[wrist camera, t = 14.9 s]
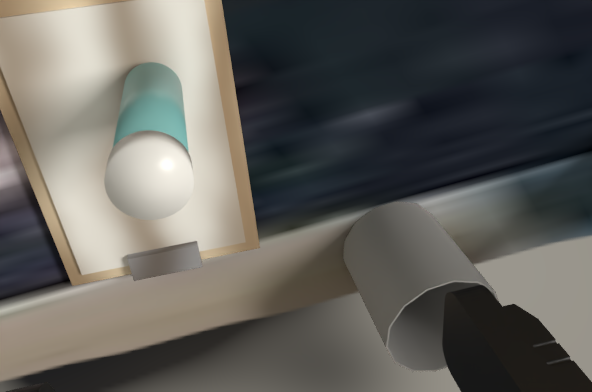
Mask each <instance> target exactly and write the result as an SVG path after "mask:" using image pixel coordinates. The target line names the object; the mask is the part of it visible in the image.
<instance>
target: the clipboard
mask: <svg viewBox="0 0 592 392" xmlns="http://www.w3.org/2000/svg"><path fill="white" fill-rule="evenodd" d="M148 62H155V63H160V64H163V65H165V66H167V67H169V68H170V69H172V70H173V71H174V72H175V73H176V75H177V76H178V78H179V79H180V82H181V85H182V92H183V102H184V112H185V122H186V132H187V142H188V151H189V155H190V157H191V161H192V168H193V177H194V188H193V192H192V195H191V197H190V199H189V201H188V202H187V204H186V205H185V206H184V207H183V208H182V209H181V210H179V211H178V212H176V213H175V214H173V215H171V216H169V217H166V218H162V219H157V220H142V219H137V218H134V217H131V216H129V215H127V214H125V213H123V212H121V211H120V210H119V209H117V208H116V207H115V206H114V205H113V203H112V202H111V201H110V199H109V197H108V195H107V193H106V190H105V184H104V179H105V172H106V167H107V162H108V157H109V155H110V152H111V150H112V148H113V143H114V137H115V132H116V127H117V121H118V116H119V110H120V105H121V99H122V94H123V88H124V83H125V80H126V77H127V75H128V74H129V72H130V71H131V70H132V69H133V68H135V67H136V66H138V65H140V64H143V63H148ZM0 110H1V112H2V115H3V117H4V120H5V122H6V125H7V127H8V130H9V132H10V134H11V137H12V139H13V142H14V144H15V147H16V149H17V152H18V154H19V156H20V159H21V161H22V164H23V166H24V169H25V171H26V174H27V176H28V178H29V181H30V183H31V186H32V188H33V191H34V193H35V195H36V198H37V200H38V203H39V205H40V208H41V210H42V213H43V215H44V217H45V220H46V222H47V225H48V227H49V230H50V232H51V235H52V237H53V239H54V242H55V244H56V247H57V249H58V252H59V254H60V256H61V259H62V261H63V264H64V266H65V269H66V271H67V274H68V276H69V278H70V281H71V283H72V286H74V285H79V284H84V283H89V282H94V281H99V280H104V279H109V278H114V277H119V276H124V275H129V274H132V276H133V279H134V281H136V280H141V279H146V278H151V277H156V276H161V275H165V274H170V273H175V272H180V271H185V270H190V269H195V268H200V267H202V261H201V260H202V259H207V258H212V257H217V256H222V255H227V254H232V253H237V252H242V251H247V250H252V249H257V248H260V246H259V239H258V233H257V227H256V220H255V214H254V207H253V201H252V194H251V188H250V181H249V175H248V169H247V162H246V156H245V149H244V143H243V136H242V130H241V123H240V117H239V111H238V104H237V98H236V91H235V85H234V78H233V72H232V66H231V59H230V53H229V46H228V40H227V33H226V27H225V20H224V14H223V8H222V1H221V0H0Z"/></svg>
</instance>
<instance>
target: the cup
mask: <svg viewBox="0 0 592 392" xmlns="http://www.w3.org/2000/svg"><path fill="white" fill-rule="evenodd" d="M343 260H344V262H345V264H346V266H347V268H348V270H349V272H350V274H351V276H352V278H353V280H354V282H355V284H356V287H357V289H358V291H359V293H360V295H361V297H362V299H363V301H364V303H365V305H366V307H367V309H368V311H369V313H370V315H371V318H372V320H373V322H374V324H375V326H376V328H377V330H378V332H379V334H380V336H381V338H382V340H383V342H384V344H385V347H386V348H387V350H388V352H389V354H390V356H391V357H392V359H393V361H394V363H395V364H398V365H400V366H402V367H404V368H406V369H408V370H411V371H437V370H440V369H443V368H446V367H448V366H447V364H446V361H445V357H444V353H443V347H442V338H443V320H444V302H445V295H446V293H448V292H451V291H456V290H460V289H465V288H469V287H473V286H478V285H484V286H485V287H487V288H488V289H489V290H490V292H491V293H492V294H493V295H494V297H495V298H496V299H497V301H498V298H497V295H496V292H495V291H494V290H493V288H492V287H491V286H490V285H489V284H488V282H487V281H486V280H485V279H484V277H483V276H482V275H481V274H480V272H479V271H478V270H477V269H476V268H475V266H474V265H473V264H472V263H471V261H470V260H469V259H468V258H467V257H466V255H465V254H464V253H463V252H462V250H461V249H460V248H459V247H458V246H457V244H456V243H455V242H454V241H453V239H452V238H451V237H450V236H449V235H448V233H447V232H446V231H445V230H444V228H443V227H442V226H441V225H440V224H439V222H438V221H437V220H436V219H435V217H434V216H433V215H432V214H431V213H430V212H428V211H427V210H425V209H424V208H423V207H421V206H420V205H418V204H417V203H407V202H397V201H396V202H393V203H389V204H386V205H383V206H380V207H376V208H374V209H372V210H371V211H370V212H368V213H367V214H366V215H365V216H363V217H362V218H361V219H359V220H358V221H357V222H355V224H354V226H353V228H352V229H351V231H350V233H349V234H348V236H347V238H346V239H345V242H344V256H343ZM498 302H499V301H498Z"/></svg>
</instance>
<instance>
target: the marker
mask: <svg viewBox="0 0 592 392" xmlns="http://www.w3.org/2000/svg"><path fill="white" fill-rule="evenodd" d="M104 184H105V190H106V193H107V195H108V197H109V199H110V201H111V202H112V203H113V205H114V206H115V207H116V208H117V209H119V210H120V211H121V212H123V213H125V214H127V215H129V216H131V217H134V218H137V219H142V220H157V219H162V218H166V217H169V216H171V215H173V214H175V213H176V212H178V211H179V210H181V209H182V208H183V207H184V206H185V205H186V204H187V202H188V201H189V199H190V197H191V195H192V192H193V188H194V177H193V168H192V161H191V157H190V155H189V151H188V142H187V132H186V122H185V112H184V102H183V92H182V85H181V82H180V79H179V78H178V76H177V75H176V73H175V72H174V71H173V70H172V69H170V68H169V67H167V66H165V65H163V64H160V63H155V62H148V63H143V64H140V65H138V66H136V67H135V68H133V69H132V70H131V71H130V72H129V74H128V75H127V77H126V80H125V83H124V88H123V94H122V99H121V105H120V110H119V116H118V121H117V127H116V132H115V137H114V143H113V148H112V150H111V152H110V155H109V157H108V162H107V167H106V172H105V179H104Z"/></svg>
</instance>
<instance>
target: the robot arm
mask: <svg viewBox="0 0 592 392" xmlns="http://www.w3.org/2000/svg"><path fill="white" fill-rule="evenodd" d="M442 347H443V353H444V357H445V361H446V364H447V366H448V369H449V370H450V372H451V375H452V376H453V378H454V380H455V381H456V383H457V385H458V387H459V388H460V390H461V392H592V382H591V381H590V380H589V378H588V377H587V376H586V375H585V374H584V373H583V371H582V370H581V369H580V368H579V367H578V365H577V364H576V363H575V362H574V361H571V360H570V356H569V355H568V354H567V352H566V351H565V350H564V349H563V348H562V347H561V345H560V344H557V343H556V341H555V338H554V337H553V336H552V335H551V334H550V332H549V331H548V330H547V329H546V328H545V327H544V325H543V324H542V323H541V322H540V321H539V319H537V318H536V317H534V316H533V315H531V314H529V313H528V312H526V311H525V310H523V309H522V308H520V307H518V306H517V305H515V304H512V305H507V306H503V307H502V306H501V304H500V303H499V302H498V301H497V299H496V298H495V297H494V295H493V294H492V293H491V292H490V290H489V289H488V288H487V287H485V286H484V285H478V286H473V287H469V288H465V289H460V290H456V291H451V292H448V293H446V295H445V302H444V320H443V338H442ZM6 392H55V390H54V389H53V387H52V386H51V384H49V383H47V382H46V383H41V384H37V385H32V386H28V387H24V388H19V389H15V390H10V391H6Z"/></svg>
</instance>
